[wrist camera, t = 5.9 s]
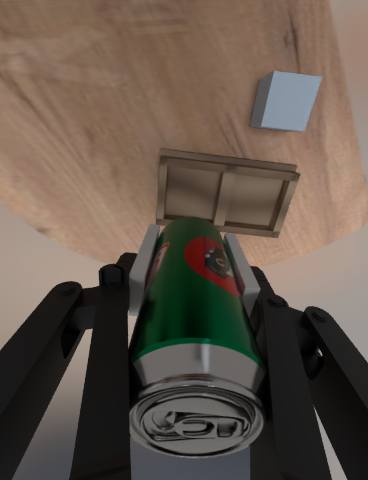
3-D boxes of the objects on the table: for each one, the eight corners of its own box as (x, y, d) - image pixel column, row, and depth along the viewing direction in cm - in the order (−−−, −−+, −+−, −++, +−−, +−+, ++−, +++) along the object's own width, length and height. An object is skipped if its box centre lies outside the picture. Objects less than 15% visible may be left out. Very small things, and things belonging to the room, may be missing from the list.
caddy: (161, 148, 30) (158, 150, 27) (294, 165, 30) (304, 168, 28) (156, 221, 35) (154, 229, 32) (270, 234, 35) (277, 242, 33)
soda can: (156, 213, 16) (94, 375, 5) (223, 213, 16) (300, 376, 5) (160, 269, 18) (122, 463, 8) (219, 269, 18) (267, 465, 7)
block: (259, 81, 26) (274, 70, 22) (299, 85, 26) (322, 76, 22) (249, 126, 28) (260, 126, 24) (286, 131, 29) (304, 131, 24)
